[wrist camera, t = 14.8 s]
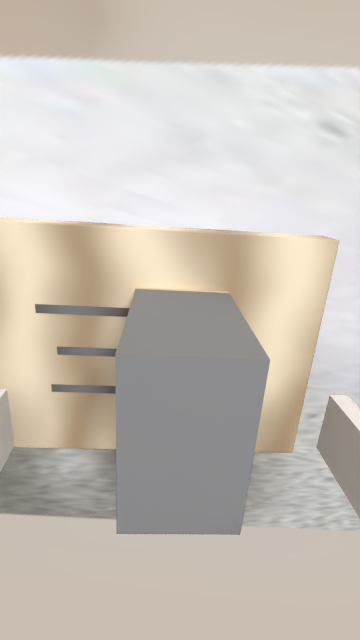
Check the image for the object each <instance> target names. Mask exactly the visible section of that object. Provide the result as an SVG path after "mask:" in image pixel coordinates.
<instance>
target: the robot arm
mask: <svg viewBox="0 0 360 640" xmlns="http://www.w3.org/2000/svg"><path fill="white" fill-rule="evenodd" d="M14 446H15V442H14V435H13V428H12V421H11V414H10V407H9V400H8V393H7V389H0V471H1V470H2V468H3V466H4V464H5V462H6V461H7V459H8V457H9V455H10V453H11V452H12V450H13V448H14ZM317 449H318V451H319V452H320V454H321V455H322V457H323V459H324V460H325V462H326V464H327V465H328V467H329V469H330V470H331V472H332V473H333V475H334V477H335V478H336V480H337V482H338V483H339V485H340V487H341V488H342V490H343V492H344V493H345V495H346V496H347V498H348V500H349V501H350V503H351V505H352V506H353V508H354V510H355V511H356V513H357V514H358V516H359V518H360V409H359V408H358V406H357V405H356V404H355V403H354V402H353V401H352V400H351V399H350V398H349V397H348V396H347V395H330V397H329V401H328V405H327V408H326V412H325V416H324V420H323V424H322V428H321V432H320V436H319V440H318V443H317Z"/></svg>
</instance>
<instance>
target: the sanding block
mask: <svg viewBox="0 0 360 640" xmlns="http://www.w3.org/2000/svg"><path fill="white" fill-rule="evenodd" d="M269 365H270V359H269V357H268V355H267V354H266V352H265V350H264V349H263V347H262V346H261V344H260V342H259V341H258V339H257V337H256V336H255V334H254V333H253V331H252V329H251V328H250V326H249V324H248V323H247V321H246V320H245V318H244V316H243V315H242V313H241V311H240V310H239V308H238V307H237V305H236V303H235V302H234V300H233V298H232V297H231V295H230V294H229V292H225V291H205V290H184V289H164V288H143V287H136V290H135V293H134V296H133V299H132V302H131V306H130V309H129V312H128V315H127V318H126V322H125V325H124V328H123V331H122V334H121V338H120V341H119V344H118V347H117V350H116V353H115V379H116V511H117V534H238V535H240V531H241V526H242V520H243V514H244V509H245V503H246V497H247V491H248V486H249V480H250V474H251V468H252V463H253V457H254V451H255V445H256V440H257V434H258V428H259V422H260V417H261V411H262V405H263V399H264V393H265V388H266V382H267V376H268V370H269Z"/></svg>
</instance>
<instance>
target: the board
mask: <svg viewBox="0 0 360 640" xmlns="http://www.w3.org/2000/svg"><path fill="white" fill-rule="evenodd" d="M338 245H339V241H338V240H335V239H331V238H328V237H324V236H313V235H296V234H279V233H262V232H244V231H227V230H210V229H193V228H176V227H159V226H141V225H124V224H107V223H90V222H73V221H55V220H38V219H21V218H4V217H0V389H7V393H8V400H9V407H10V414H11V421H12V428H13V435H14V442H15V446H14V447H31V448H79V449H116V379H115V353H116V350H117V347H118V344H119V341H120V338H121V334H122V331H123V328H124V325H125V322H126V318H127V315H128V312H129V309H130V306H131V302H132V299H133V296H134V293H135V290H136V287H143V288H164V289H184V290H205V291H225V292H229V294H230V295H231V297H232V298H233V300H234V302H235V303H236V305H237V307H238V308H239V310H240V311H241V313H242V315H243V316H244V318H245V320H246V321H247V323H248V324H249V326H250V328H251V329H252V331H253V333H254V334H255V336H256V337H257V339H258V341H259V342H260V344H261V346H262V347H263V349H264V350H265V352H266V354H267V355H268V357H269V359H270V365H269V370H268V376H267V382H266V388H265V393H264V399H263V405H262V411H261V417H260V422H259V428H258V434H257V440H256V445H255V451H254V452H270V453H292V451H293V447H294V442H295V438H296V433H297V429H298V424H299V420H300V416H301V411H302V407H303V402H304V398H305V393H306V389H307V384H308V380H309V375H310V371H311V366H312V362H313V357H314V353H315V348H316V344H317V339H318V335H319V330H320V326H321V321H322V317H323V312H324V308H325V303H326V299H327V294H328V290H329V285H330V281H331V276H332V272H333V267H334V263H335V258H336V254H337V249H338Z"/></svg>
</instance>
